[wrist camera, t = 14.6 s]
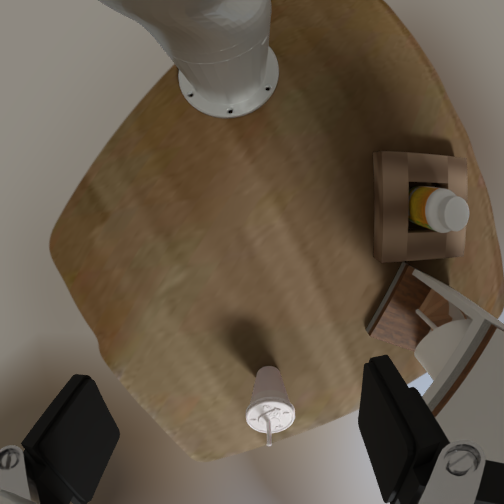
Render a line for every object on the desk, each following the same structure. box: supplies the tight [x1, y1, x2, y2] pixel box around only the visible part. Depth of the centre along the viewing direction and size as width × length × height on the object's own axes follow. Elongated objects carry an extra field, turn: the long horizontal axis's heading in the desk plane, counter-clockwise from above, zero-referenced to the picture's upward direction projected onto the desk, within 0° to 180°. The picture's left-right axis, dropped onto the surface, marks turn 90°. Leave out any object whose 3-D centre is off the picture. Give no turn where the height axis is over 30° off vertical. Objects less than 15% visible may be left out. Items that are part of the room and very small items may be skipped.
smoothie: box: [246, 366, 295, 446], centre depth 37 cm, size 6×6×14 cm
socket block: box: [373, 151, 467, 263], centre depth 36 cm, size 14×14×3 cm
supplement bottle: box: [408, 186, 469, 233], centre depth 32 cm, size 5×5×10 cm
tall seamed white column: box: [366, 262, 504, 463], centre depth 24 cm, size 11×11×35 cm
